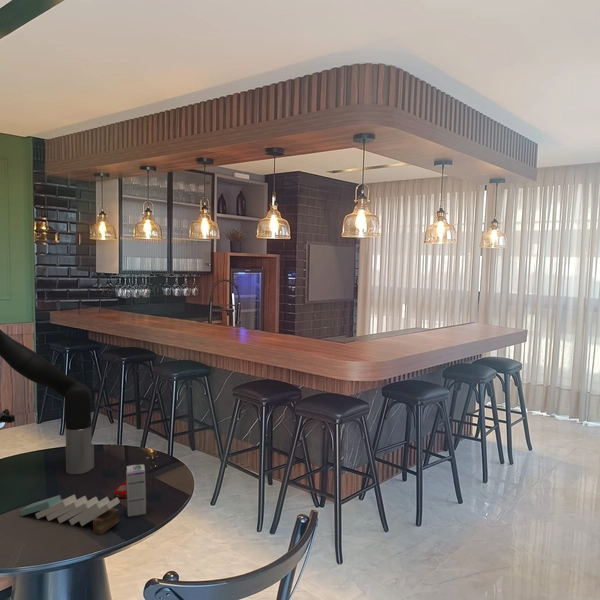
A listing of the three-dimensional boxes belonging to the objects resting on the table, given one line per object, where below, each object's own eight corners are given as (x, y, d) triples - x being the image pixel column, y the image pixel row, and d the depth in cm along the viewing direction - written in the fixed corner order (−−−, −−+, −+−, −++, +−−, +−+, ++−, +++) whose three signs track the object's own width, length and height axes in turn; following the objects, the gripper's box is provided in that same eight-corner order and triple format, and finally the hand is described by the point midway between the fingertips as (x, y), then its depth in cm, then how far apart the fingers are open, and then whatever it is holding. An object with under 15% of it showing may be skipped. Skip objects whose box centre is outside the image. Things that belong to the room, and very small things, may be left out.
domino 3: (45, 515, 156) (73, 502, 153) (58, 508, 161) (85, 495, 157) (48, 521, 156) (76, 507, 153) (60, 514, 161) (87, 500, 157)
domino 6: (78, 521, 152) (106, 503, 149) (90, 513, 157) (117, 496, 154) (81, 526, 152) (109, 509, 149) (93, 518, 157) (120, 502, 154)
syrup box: (146, 514, 161) (146, 469, 160) (126, 517, 159) (126, 472, 158) (145, 506, 166) (145, 463, 166) (126, 509, 164) (126, 465, 164)
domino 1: (19, 510, 159) (47, 501, 156) (31, 504, 164) (59, 494, 160) (21, 516, 159) (49, 507, 155) (33, 509, 164) (61, 500, 160)
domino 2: (35, 513, 157) (62, 501, 154) (47, 506, 162) (74, 494, 159) (37, 519, 157) (65, 506, 154) (49, 512, 162) (76, 499, 158)
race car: (124, 501, 171) (123, 489, 171) (110, 498, 173) (110, 487, 173) (147, 485, 184) (147, 474, 184) (134, 483, 185) (134, 472, 185)
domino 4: (57, 518, 155) (84, 503, 151) (69, 510, 160) (96, 496, 156) (59, 523, 155) (87, 508, 151) (71, 516, 159) (98, 501, 156)
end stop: (93, 532, 149) (93, 519, 149) (110, 520, 157) (110, 507, 157) (101, 534, 148) (101, 521, 148) (119, 521, 156) (118, 509, 156)
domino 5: (68, 520, 154) (96, 503, 150) (80, 513, 158) (107, 496, 155) (71, 525, 153) (99, 508, 150) (83, 518, 158) (109, 501, 155)
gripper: (-46, 410, 168) (-5, 413, 163) (-11, 400, 181) (28, 403, 176) (-45, 432, 169) (-4, 436, 164) (-10, 420, 181) (29, 424, 176)
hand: (12, 419), depth 170 cm, fingers closed
